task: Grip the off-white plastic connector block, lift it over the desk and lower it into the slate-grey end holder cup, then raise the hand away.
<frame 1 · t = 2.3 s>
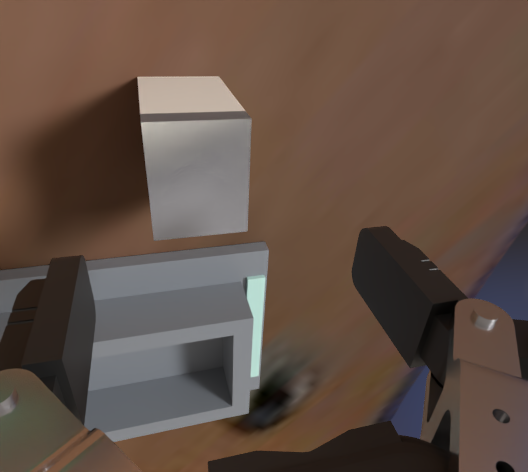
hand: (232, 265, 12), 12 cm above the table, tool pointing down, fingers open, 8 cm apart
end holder: (136, 337, 29), on the table
connector: (181, 125, 22), on the table
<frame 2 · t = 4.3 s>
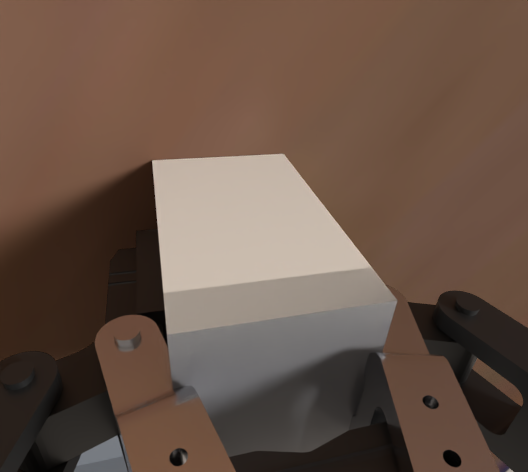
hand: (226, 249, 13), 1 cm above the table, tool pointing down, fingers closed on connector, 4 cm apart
connector: (220, 227, 14), on the table, touching gripper
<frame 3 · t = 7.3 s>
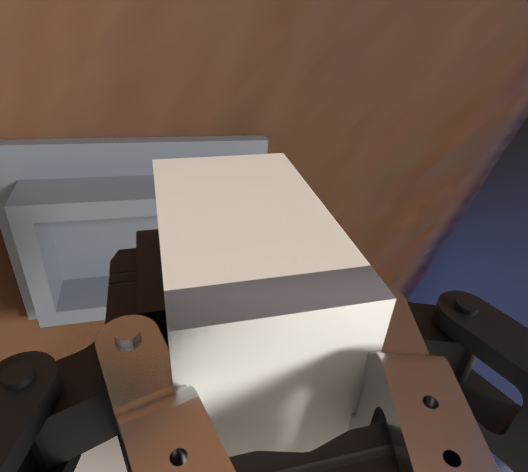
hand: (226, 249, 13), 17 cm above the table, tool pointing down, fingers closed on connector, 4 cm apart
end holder: (142, 227, 31), on the table
connector: (220, 226, 14), point 16 cm above the table, touching gripper
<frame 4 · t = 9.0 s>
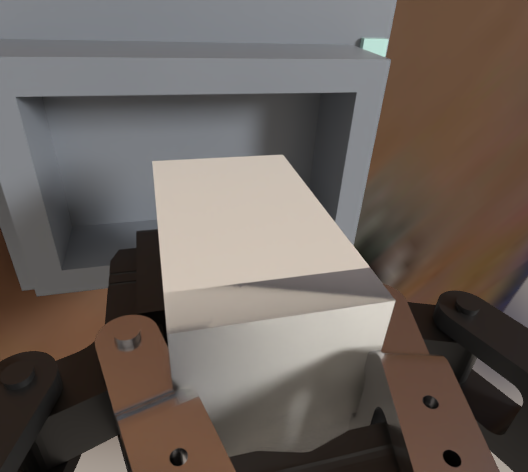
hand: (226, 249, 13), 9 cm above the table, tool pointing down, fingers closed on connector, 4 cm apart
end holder: (192, 144, 20), on the table
connector: (220, 227, 14), point 8 cm above the table, touching gripper
when the fingers open (4 cm above the table, at t = 10.4 s): connector drops 2 cm, resting on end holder.
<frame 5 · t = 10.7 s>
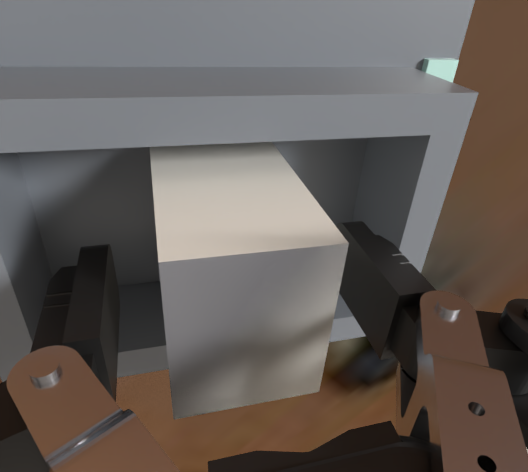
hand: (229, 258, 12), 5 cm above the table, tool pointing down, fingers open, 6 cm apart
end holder: (207, 188, 16), on the table
connector: (210, 201, 15), point 1 cm above the table, touching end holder
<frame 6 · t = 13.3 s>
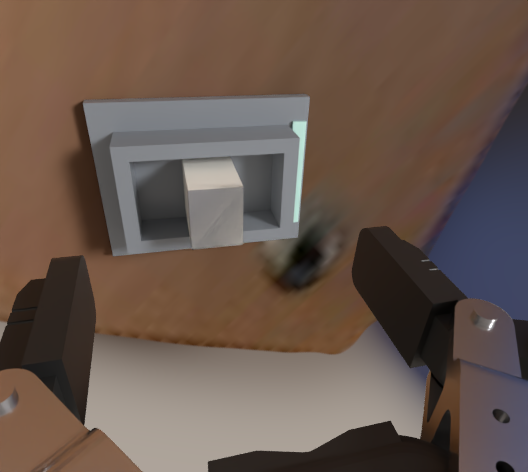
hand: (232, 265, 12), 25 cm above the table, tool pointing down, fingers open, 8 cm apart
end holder: (205, 175, 38), on the table
connector: (206, 180, 37), point 1 cm above the table, touching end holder
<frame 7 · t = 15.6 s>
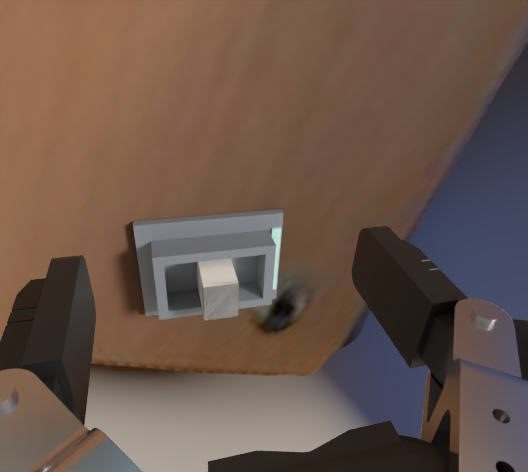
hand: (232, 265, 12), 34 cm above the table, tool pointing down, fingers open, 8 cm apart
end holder: (211, 261, 54), on the table
connector: (212, 266, 53), point 1 cm above the table, touching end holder
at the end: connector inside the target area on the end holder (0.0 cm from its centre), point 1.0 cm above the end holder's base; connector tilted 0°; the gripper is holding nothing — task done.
